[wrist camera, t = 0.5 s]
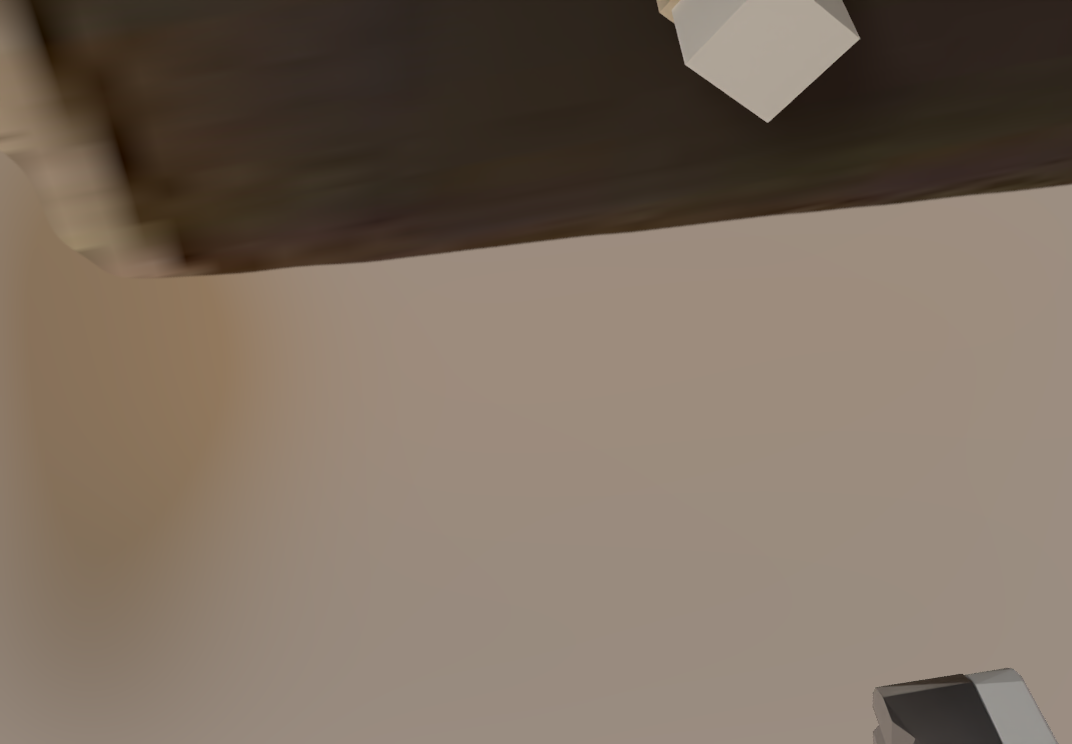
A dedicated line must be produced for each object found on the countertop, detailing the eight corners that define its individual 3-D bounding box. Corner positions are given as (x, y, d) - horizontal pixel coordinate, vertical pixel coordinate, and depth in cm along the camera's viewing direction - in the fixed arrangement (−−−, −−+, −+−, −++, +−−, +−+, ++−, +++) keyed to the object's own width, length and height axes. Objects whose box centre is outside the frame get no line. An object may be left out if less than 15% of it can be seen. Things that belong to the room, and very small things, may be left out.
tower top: (755, -83, 47) (776, -31, 43) (835, -15, 50) (860, 38, 46) (671, 10, 50) (684, 64, 47) (750, 68, 53) (767, 123, 50)
